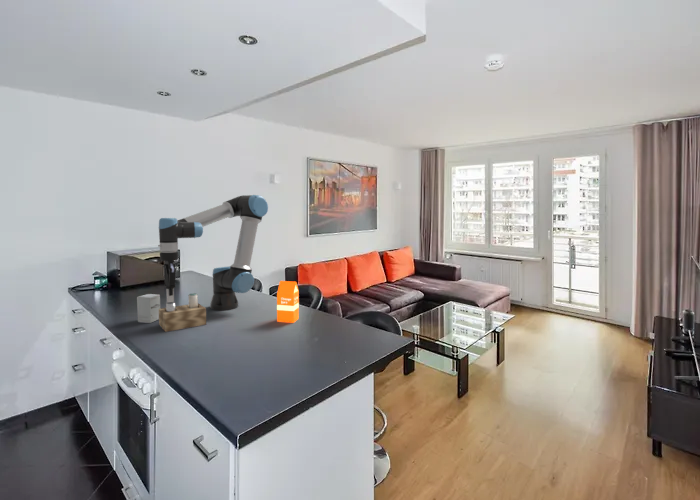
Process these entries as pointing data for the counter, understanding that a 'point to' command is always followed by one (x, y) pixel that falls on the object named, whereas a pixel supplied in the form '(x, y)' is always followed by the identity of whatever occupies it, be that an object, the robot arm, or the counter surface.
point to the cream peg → (193, 300)
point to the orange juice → (287, 302)
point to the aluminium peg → (170, 306)
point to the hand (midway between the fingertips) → (170, 301)
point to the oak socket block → (182, 317)
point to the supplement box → (148, 308)
